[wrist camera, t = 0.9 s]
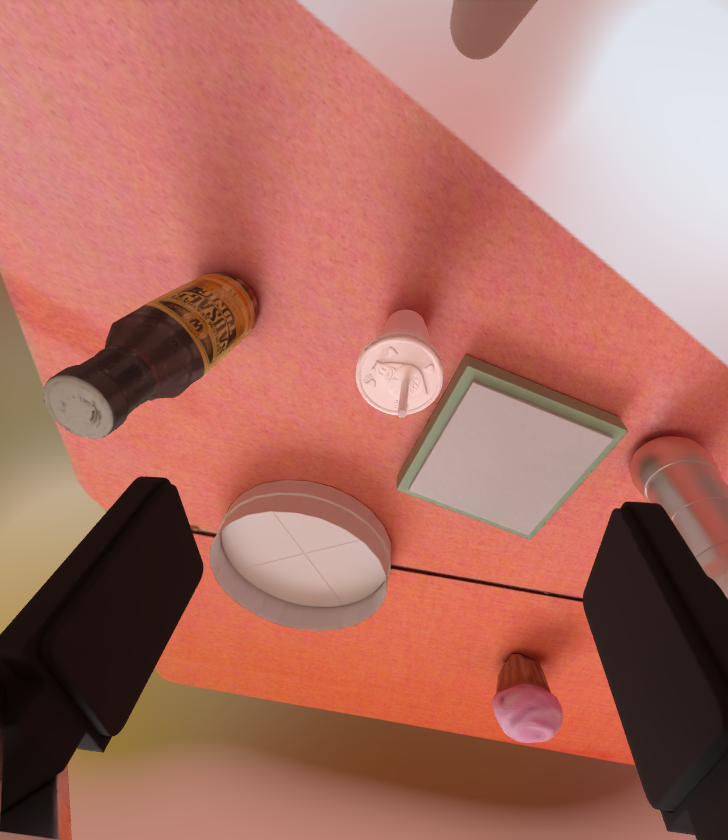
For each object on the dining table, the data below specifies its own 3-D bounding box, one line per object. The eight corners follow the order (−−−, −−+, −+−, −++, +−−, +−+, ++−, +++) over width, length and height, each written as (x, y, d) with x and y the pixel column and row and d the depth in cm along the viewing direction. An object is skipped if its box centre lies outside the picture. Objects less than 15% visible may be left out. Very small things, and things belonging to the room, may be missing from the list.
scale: (465, 354, 40) (468, 368, 38) (619, 416, 42) (631, 434, 39) (396, 478, 49) (394, 496, 47) (524, 526, 51) (529, 546, 48)
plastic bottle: (695, 475, 44) (856, 682, 27) (620, 483, 46) (729, 683, 29) (702, 422, 41) (891, 619, 24) (622, 432, 42) (746, 624, 26)
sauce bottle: (275, 314, 40) (166, 438, 24) (226, 346, 43) (97, 478, 26) (228, 251, 38) (69, 339, 21) (179, 288, 40) (3, 394, 24)
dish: (343, 457, 48) (335, 488, 44) (419, 582, 58) (418, 617, 54) (190, 506, 56) (170, 535, 52) (280, 609, 66) (270, 641, 61)
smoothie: (416, 373, 42) (410, 465, 30) (357, 340, 41) (328, 422, 29) (455, 317, 38) (466, 396, 27) (392, 279, 37) (375, 345, 26)
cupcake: (563, 660, 63) (583, 739, 55) (525, 684, 68) (539, 761, 60) (510, 638, 62) (522, 716, 54) (476, 664, 67) (482, 740, 59)
